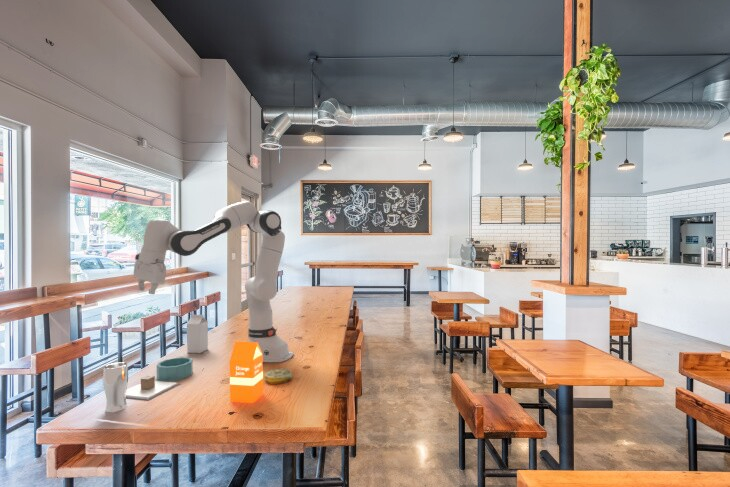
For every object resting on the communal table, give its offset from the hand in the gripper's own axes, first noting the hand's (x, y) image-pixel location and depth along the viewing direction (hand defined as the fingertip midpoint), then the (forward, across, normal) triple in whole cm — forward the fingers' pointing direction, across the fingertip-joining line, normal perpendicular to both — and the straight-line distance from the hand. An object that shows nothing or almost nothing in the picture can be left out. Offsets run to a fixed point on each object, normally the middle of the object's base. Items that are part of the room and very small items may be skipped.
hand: (146, 292), depth 147 cm
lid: (+35, -14, -1) cm, 38 cm away
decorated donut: (+28, -46, -36) cm, 64 cm away
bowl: (+34, -6, -15) cm, 38 cm away
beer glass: (+37, -22, +12) cm, 45 cm away
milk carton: (+33, +22, -40) cm, 57 cm away
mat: (+36, -14, -1) cm, 38 cm away
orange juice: (+30, -50, -18) cm, 61 cm away
